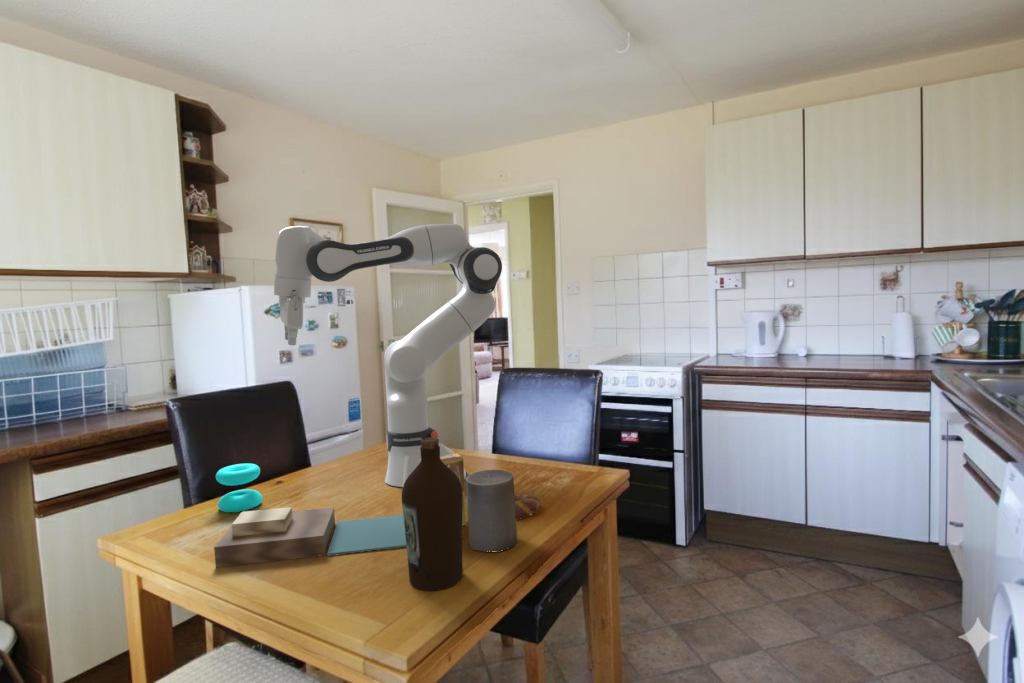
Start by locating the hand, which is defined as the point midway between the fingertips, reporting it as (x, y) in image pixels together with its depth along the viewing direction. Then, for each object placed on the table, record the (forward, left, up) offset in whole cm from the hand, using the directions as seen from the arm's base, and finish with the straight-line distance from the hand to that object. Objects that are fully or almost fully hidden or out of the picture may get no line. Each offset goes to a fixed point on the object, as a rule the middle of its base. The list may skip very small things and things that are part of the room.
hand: (290, 342), depth 148 cm
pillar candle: (-45, +45, -40) cm, 75 cm away
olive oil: (-33, +57, -40) cm, 77 cm away
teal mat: (-21, +34, -40) cm, 56 cm away
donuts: (+13, +7, -40) cm, 43 cm away
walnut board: (-2, +34, -40) cm, 53 cm away
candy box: (-36, +34, -40) cm, 64 cm away
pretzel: (-53, +29, -41) cm, 73 cm away
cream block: (+1, +34, -36) cm, 49 cm away
